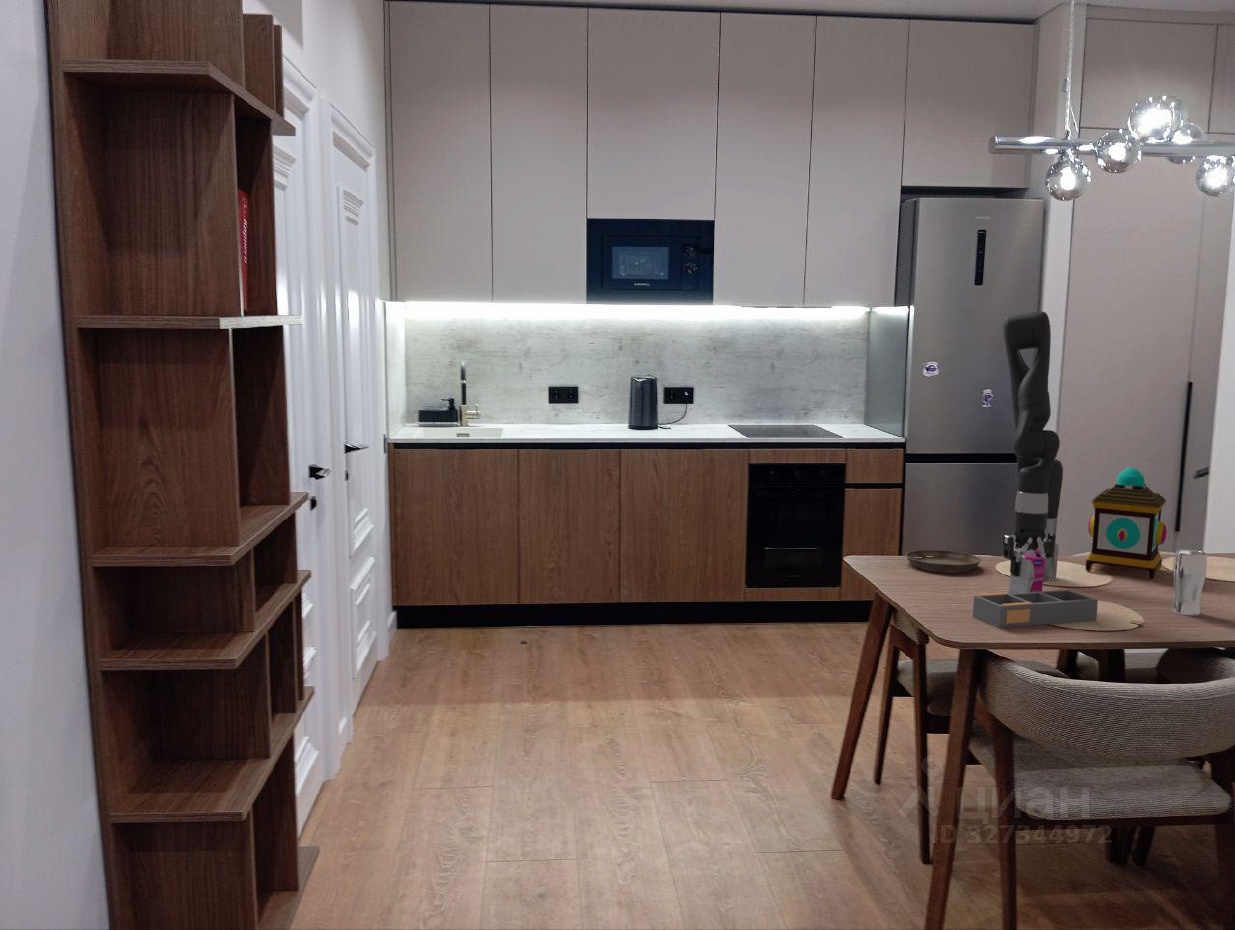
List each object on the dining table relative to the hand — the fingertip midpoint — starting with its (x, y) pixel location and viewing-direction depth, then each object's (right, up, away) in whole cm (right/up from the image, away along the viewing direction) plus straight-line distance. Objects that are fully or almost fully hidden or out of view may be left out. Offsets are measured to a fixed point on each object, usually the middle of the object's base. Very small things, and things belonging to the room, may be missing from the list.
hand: (1026, 575), depth 246 cm
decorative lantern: (+43, -3, +36) cm, 56 cm away
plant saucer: (-9, -2, +38) cm, 39 cm away
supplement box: (0, -7, +1) cm, 7 cm away
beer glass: (+36, -8, -7) cm, 37 cm away
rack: (-4, -9, -15) cm, 18 cm away
